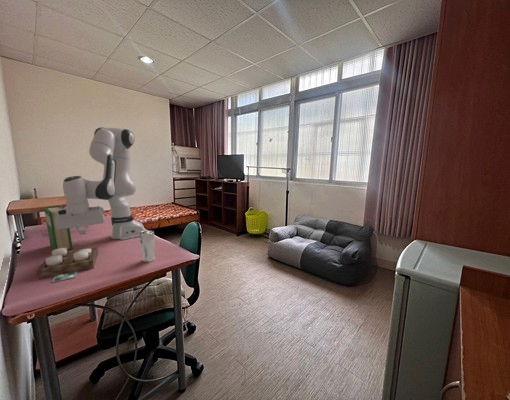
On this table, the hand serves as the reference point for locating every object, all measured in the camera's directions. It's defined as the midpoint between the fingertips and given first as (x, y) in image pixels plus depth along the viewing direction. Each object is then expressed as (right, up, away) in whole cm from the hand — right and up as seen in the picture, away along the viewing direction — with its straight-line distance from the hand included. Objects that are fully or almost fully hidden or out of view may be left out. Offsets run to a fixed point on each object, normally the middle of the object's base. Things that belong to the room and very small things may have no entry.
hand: (83, 234), depth 115 cm
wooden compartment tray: (-2, -15, -5) cm, 15 cm away
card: (+5, -17, -17) cm, 24 cm away
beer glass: (+34, -14, +1) cm, 37 cm away
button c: (+5, -11, -7) cm, 14 cm away
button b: (-9, -11, -4) cm, 14 cm away
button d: (-4, -12, -12) cm, 18 cm away
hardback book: (-26, -11, +16) cm, 33 cm away
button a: (0, -12, +2) cm, 12 cm away
